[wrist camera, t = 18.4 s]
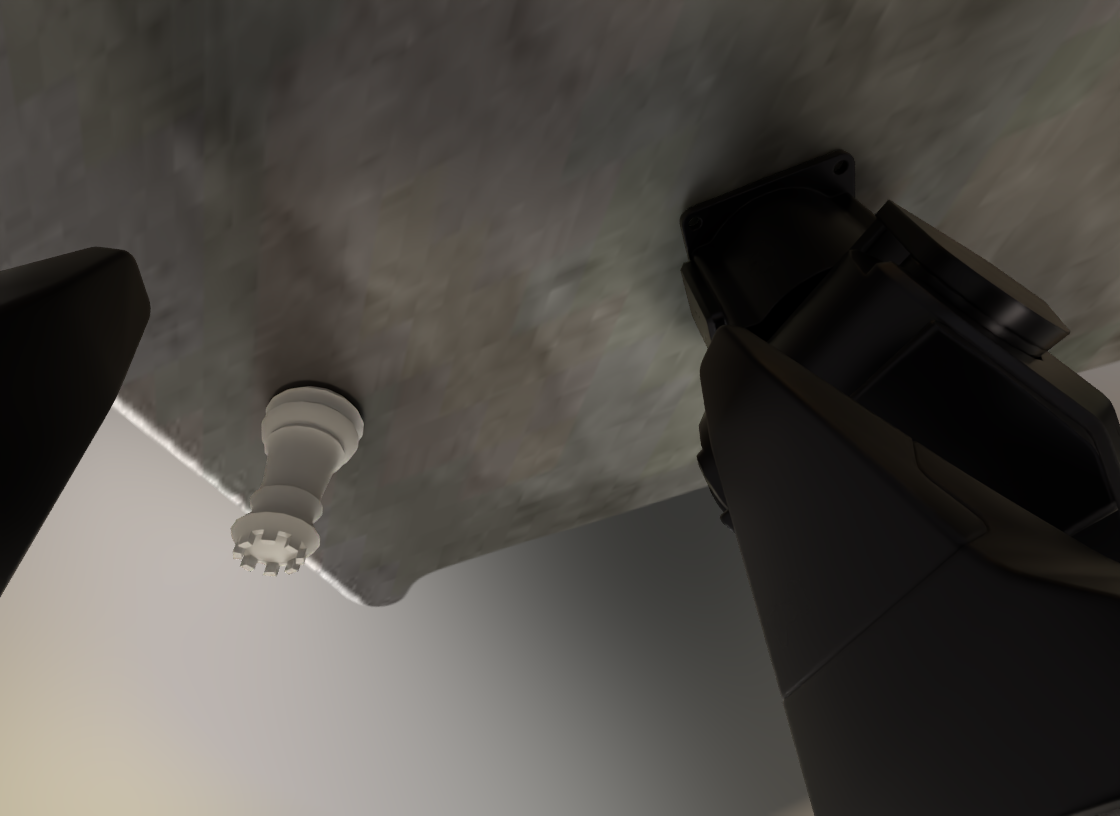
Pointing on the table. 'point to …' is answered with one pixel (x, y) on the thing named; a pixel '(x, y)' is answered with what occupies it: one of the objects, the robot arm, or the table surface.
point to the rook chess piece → (295, 476)
